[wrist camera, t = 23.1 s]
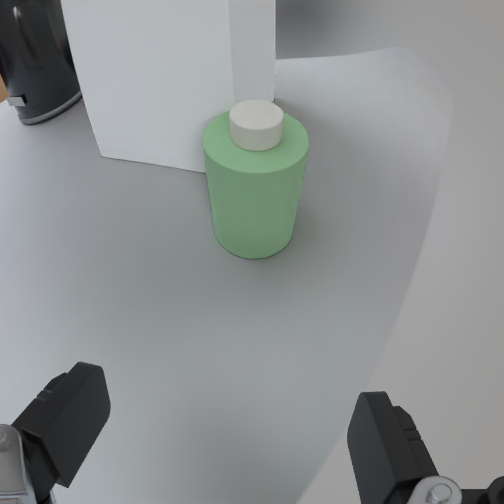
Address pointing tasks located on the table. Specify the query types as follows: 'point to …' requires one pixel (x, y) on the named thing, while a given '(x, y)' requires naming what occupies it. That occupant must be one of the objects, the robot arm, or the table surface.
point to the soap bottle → (254, 176)
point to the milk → (168, 71)
